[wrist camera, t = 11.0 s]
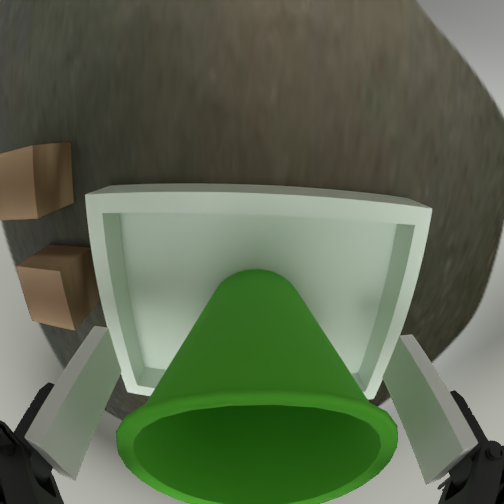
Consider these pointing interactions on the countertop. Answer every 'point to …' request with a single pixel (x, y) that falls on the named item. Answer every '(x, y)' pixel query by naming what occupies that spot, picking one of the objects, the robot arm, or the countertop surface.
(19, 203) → the walnut block
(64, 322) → the walnut block
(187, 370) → the cup
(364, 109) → the countertop surface
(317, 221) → the tray
